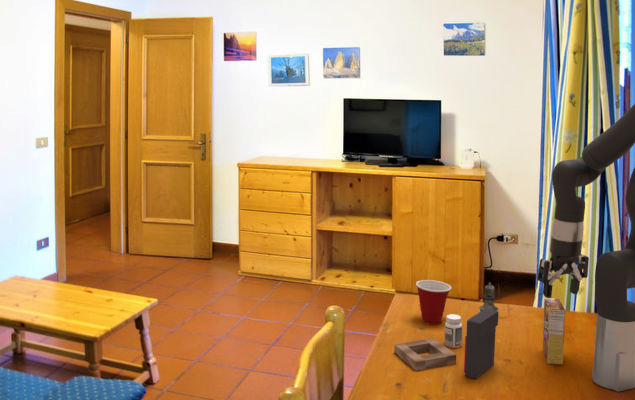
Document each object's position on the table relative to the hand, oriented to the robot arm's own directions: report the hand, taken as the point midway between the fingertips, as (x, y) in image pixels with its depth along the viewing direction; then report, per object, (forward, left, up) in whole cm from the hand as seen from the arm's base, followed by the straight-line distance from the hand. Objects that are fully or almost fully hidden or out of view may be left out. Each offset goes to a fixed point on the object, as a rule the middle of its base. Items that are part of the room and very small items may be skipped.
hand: (560, 295), depth 167 cm
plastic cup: (+36, +17, -18) cm, 44 cm away
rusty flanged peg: (+31, 0, -18) cm, 36 cm away
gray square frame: (+13, +33, -18) cm, 39 cm away
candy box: (+1, +1, -18) cm, 18 cm away
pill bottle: (+18, +21, -18) cm, 33 cm away
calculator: (+1, +23, -18) cm, 30 cm away
